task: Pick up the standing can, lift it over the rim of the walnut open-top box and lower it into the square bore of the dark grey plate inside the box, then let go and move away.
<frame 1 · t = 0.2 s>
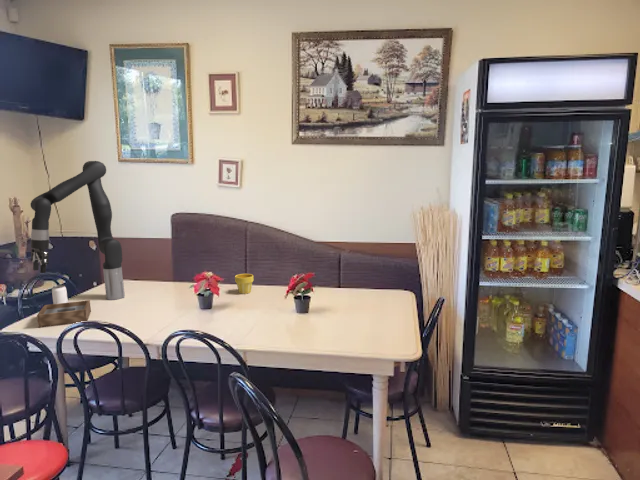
hand: (39, 271, 220), 22 cm above the table, tool pointing down, fingers open, 8 cm apart
plant pot: (244, 292, 257), on the table
can: (61, 309, 233), on the table
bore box: (66, 319, 217), on the table
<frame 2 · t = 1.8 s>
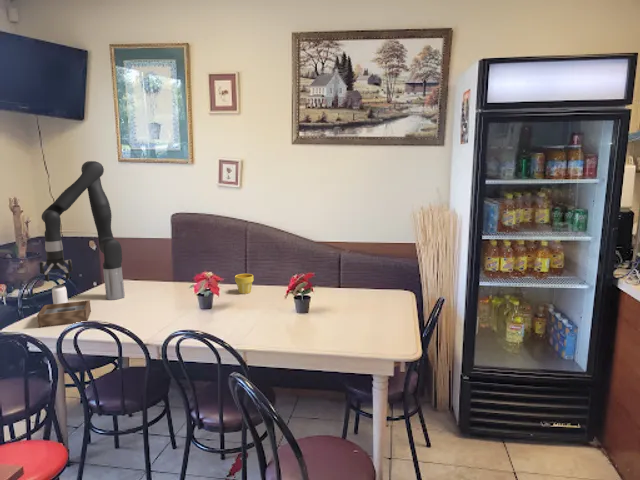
hand: (57, 280, 230), 15 cm above the table, tool pointing down, fingers open, 8 cm apart
nothing on the table moved.
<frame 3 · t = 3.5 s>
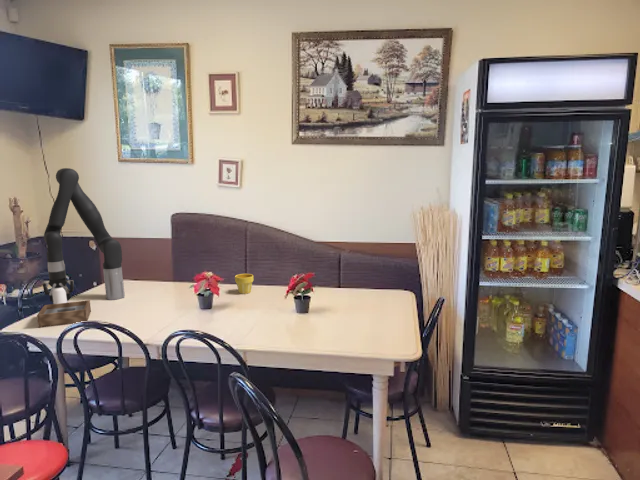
hand: (60, 301, 232), 4 cm above the table, tool pointing down, fingers closed on can, 6 cm apart
can: (61, 309, 233), on the table, touching gripper
everything else where it was.
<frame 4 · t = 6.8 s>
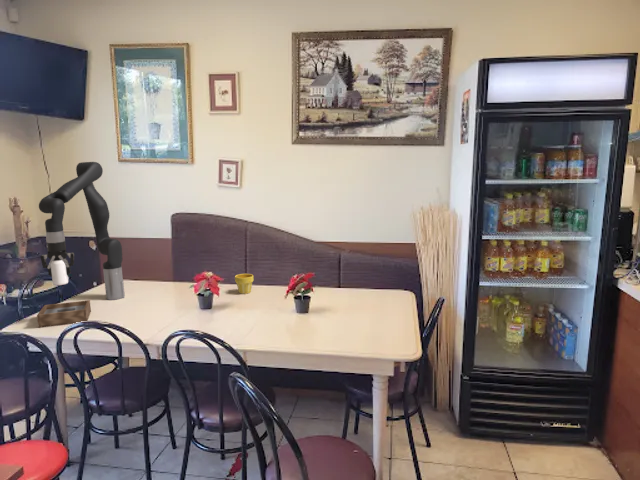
hand: (59, 275, 214), 22 cm above the table, tool pointing down, fingers closed on can, 6 cm apart
can: (60, 284, 214), point 17 cm above the table, touching gripper
everything else where it was.
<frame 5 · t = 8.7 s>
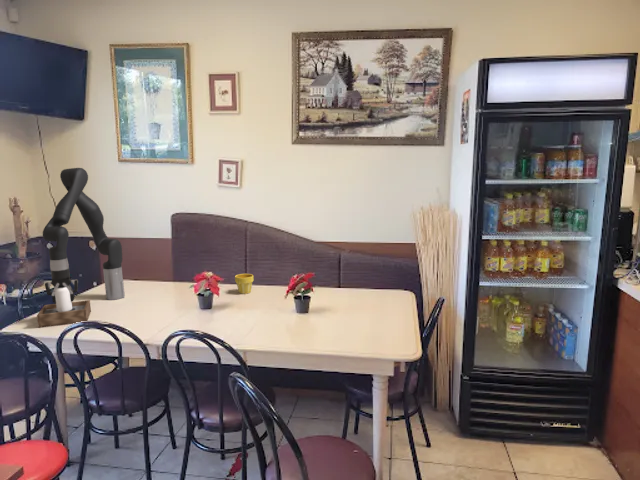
hand: (63, 301, 216), 9 cm above the table, tool pointing down, fingers closed on can, 6 cm apart
can: (64, 310, 216), point 4 cm above the table, touching gripper
everything else where it was.
when the fingers open (6 cm above the table, at t = 10.1 s): can stays where it is, resting on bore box.
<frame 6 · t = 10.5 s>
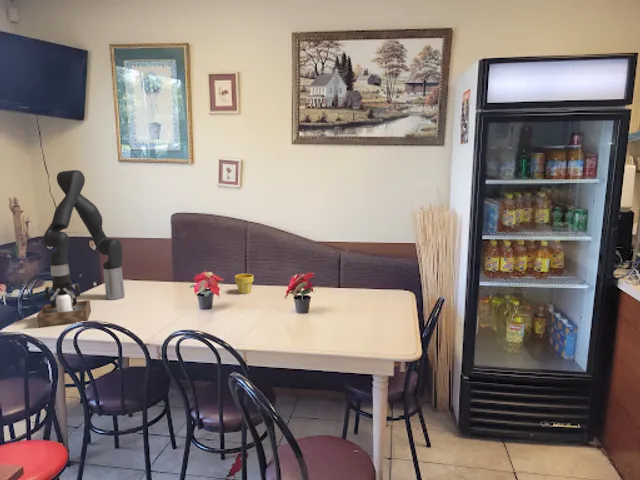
hand: (64, 306, 216), 7 cm above the table, tool pointing down, fingers open, 8 cm apart
can: (65, 317, 217), point 1 cm above the table, touching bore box
everything else where it was.
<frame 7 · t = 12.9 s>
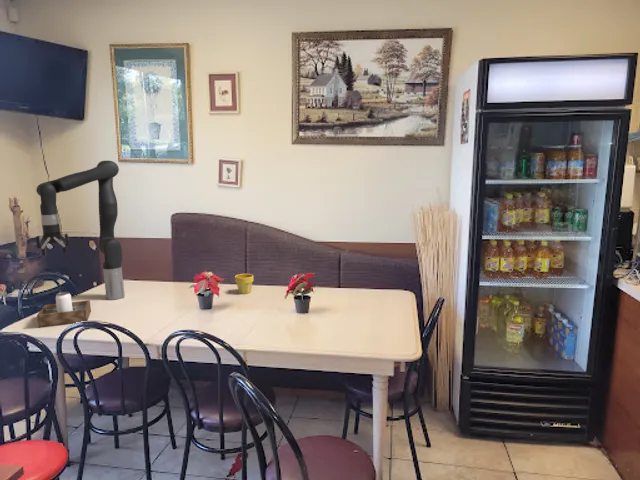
hand: (55, 254, 228), 29 cm above the table, tool pointing down, fingers open, 8 cm apart
nothing on the table moved.
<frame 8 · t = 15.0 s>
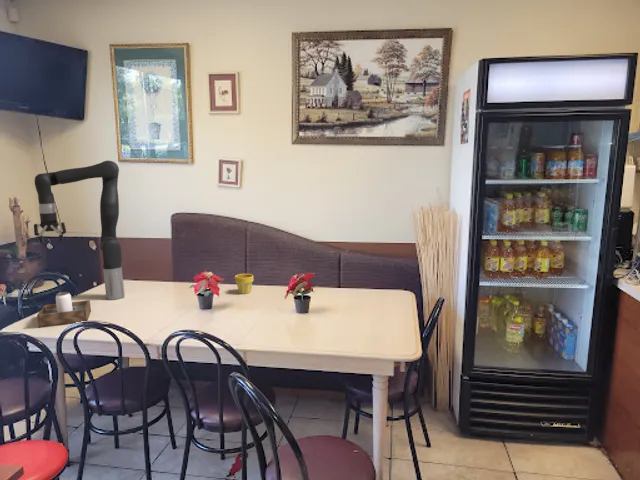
hand: (51, 242, 237), 33 cm above the table, tool pointing down, fingers open, 8 cm apart
nothing on the table moved.
at the end: can 0.0 cm off-centre on the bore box, point 0.8 cm above the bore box's base; can tilted 0°; the gripper is holding nothing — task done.
